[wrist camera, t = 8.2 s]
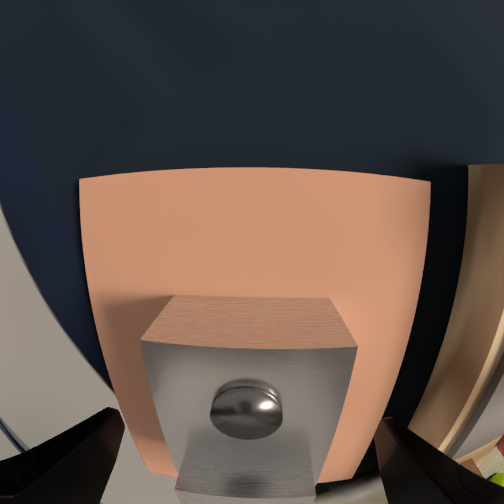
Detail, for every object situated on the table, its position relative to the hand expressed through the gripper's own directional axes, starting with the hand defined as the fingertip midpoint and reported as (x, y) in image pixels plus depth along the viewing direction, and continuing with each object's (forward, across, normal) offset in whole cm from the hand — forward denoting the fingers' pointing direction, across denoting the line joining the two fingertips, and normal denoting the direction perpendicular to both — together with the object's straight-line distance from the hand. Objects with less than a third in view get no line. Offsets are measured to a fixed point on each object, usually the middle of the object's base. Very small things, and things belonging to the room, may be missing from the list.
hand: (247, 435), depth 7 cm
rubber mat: (+3, 0, 0) cm, 3 cm away
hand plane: (+3, -12, 0) cm, 12 cm away
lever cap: (+2, 0, 0) cm, 2 cm away
